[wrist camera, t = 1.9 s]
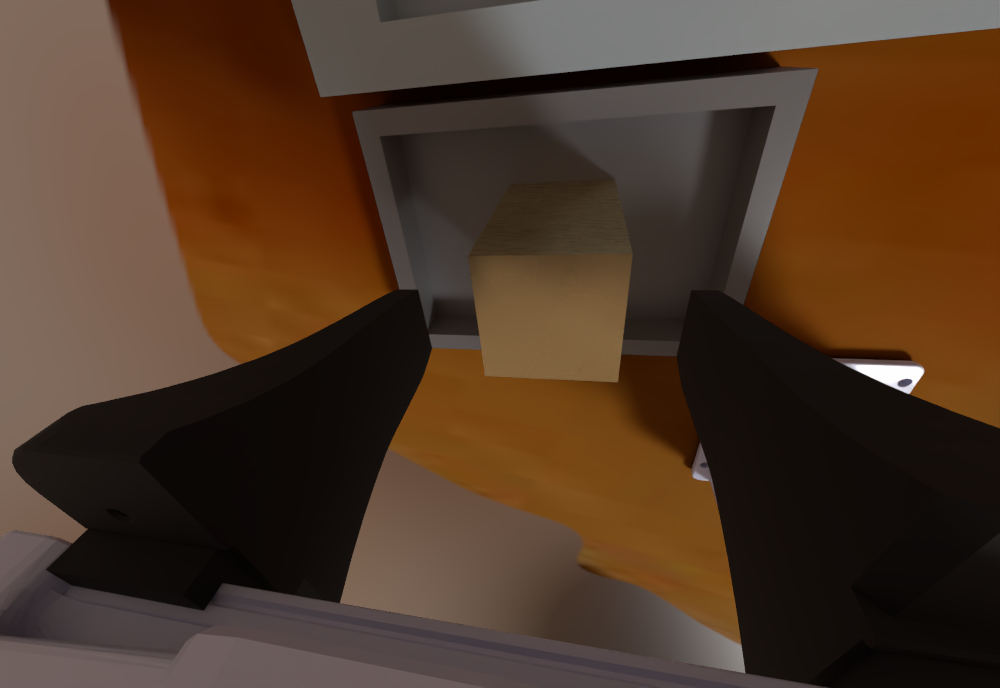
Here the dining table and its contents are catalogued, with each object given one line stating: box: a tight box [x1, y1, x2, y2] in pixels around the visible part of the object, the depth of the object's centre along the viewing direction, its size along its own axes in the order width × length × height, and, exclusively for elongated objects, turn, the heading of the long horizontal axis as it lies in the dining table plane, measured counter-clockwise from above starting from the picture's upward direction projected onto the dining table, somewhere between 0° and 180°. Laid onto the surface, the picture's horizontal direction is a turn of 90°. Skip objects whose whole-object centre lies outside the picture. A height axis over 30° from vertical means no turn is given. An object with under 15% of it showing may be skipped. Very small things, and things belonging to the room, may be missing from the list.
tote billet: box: [468, 179, 633, 382], centre depth 13 cm, size 4×4×7 cm
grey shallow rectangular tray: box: [352, 67, 818, 356], centre depth 16 cm, size 10×14×2 cm
